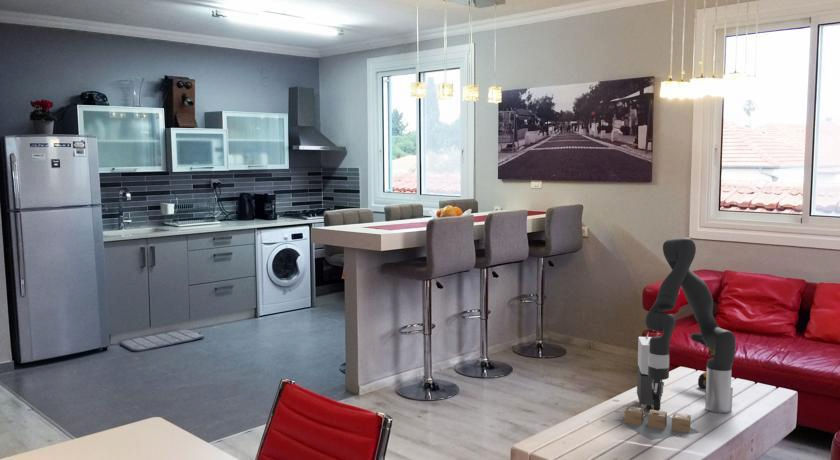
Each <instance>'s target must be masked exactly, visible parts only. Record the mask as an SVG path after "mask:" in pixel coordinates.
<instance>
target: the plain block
mask: <svg viewBox="0 0 840 460" xmlns="http://www.w3.org/2000/svg"><path fill="white" fill-rule="evenodd" d="M647 415H648V427H650V428H657V429H663V430H665V427H666V425H667V416H668V411H664V410H659V411H656V410H654V409H650V410H649V412H648V414H647Z"/></svg>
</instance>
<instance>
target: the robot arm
mask: <svg viewBox="0 0 840 460" xmlns="http://www.w3.org/2000/svg"><path fill="white" fill-rule="evenodd" d="M662 251H663V252H662V253H663V255H664V258H665V260H666V262H667V264H668V266H669V267H670V269H671V271H670V273H669V274H668V275H667V276H666V277H665V278H664V280H663V281H662V282H661V284H660V286H659V289H658V293H657V295H656V300H655V302H653V304H652V306H651V308H650V309H649V310H648V312H647V314H646V316H645V321H644V322H645V323H644V324H645V326H646V328H647V330H651V331H654V332H655V331H657V332H661V333H662V335H659V336H657V335H656V336H651V337H652V338H651V339H650V350H649V358H648V376H649V377H650V378H653V379H654V381H653V382H652V397H653V400H654V409H653V410H656V411H661V403H662V402H661V401H662V398H663V393H664V386H665V382H664V381H663V380H668V379H669V377H670V343H671V339H672V335H673V333H674V330H675V326H676V318H675V316H674V315H673V314H672V313H668V311H671V310H673V309H675V307H676V304H677V300H678V297H679V293H680V289H681V290H682V291H683V294H684V296H685V299H686V301H687V303H688V305H689V306H690V308H691V311H692V313H693V315H694V318H695V320H696V322H697V325H698V328H699V331H700V333H701V334H702V337H703V340H704V342H705V344H706V345H707V346H708V347H709V348H710V349H713V350H715V355H714V358H713V357H712V358H709V359H708V360H707V362H706V371H707V377H706V389H705V406H704V407H705V410H707V411H709V412H712V413H717V414H720V413H721V414H726V413H729V412H730V411H733V390H734V389H733V388H734V387H732V371H733V370H732V368H733V367H732V366H733V364H734V361H735V356H736V355H735V354H736V344H737V342H736V341H737V340H736V337H735V334H734V333H733V332H732V331H730V330H728V329H724V328H721V327H720V326H719V325H718V322H717V321H716V319H715V317H714V314H713V310H714V298H713V295H712V293H711V291H710V289H709V287H708V285H707V283H706V282H705V281H704V280H703V279H702V278H701V277H700V276H698V275H697V274H696V273H694V272H693V271H692V270H691V269H690V267H691V265H692V263H693V261H694V259H695V257H696V251H697V247H696V244H695V241H694V240H693V239H691V238H690V237H680V238H678V237H677V238H672V239H671V238H670V239H667V240H665V241H664V242H663V245H662ZM666 311H667V312H666ZM706 345H705V346H706Z"/></svg>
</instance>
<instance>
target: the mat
mask: <svg viewBox="0 0 840 460" xmlns="http://www.w3.org/2000/svg"><path fill="white" fill-rule="evenodd" d="M615 421H617V422H618V423H620V424H622V425H624V426H625V427H627V428H628V429H631V430H633V431H634V432H636V433H638V434H639V435H642V436H643V437H645V438H648V439H649V440H651V441H652V440H659V439H668V438H675V437H681V436H686V435H687V436H688V435H693V434H701V433H702V432H701V431H699V430H697V429H695V428H693V427H691V426H690V431H689V433H683V432H676V431H672V416H669V415H667V425H666V427H665V430H663V429H657V428H650V427H648V414H647V415H644V421H643V423H642V425H641V426H637V425H631V424H625V417H624V418H623V417H622V418H617V419H615Z"/></svg>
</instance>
